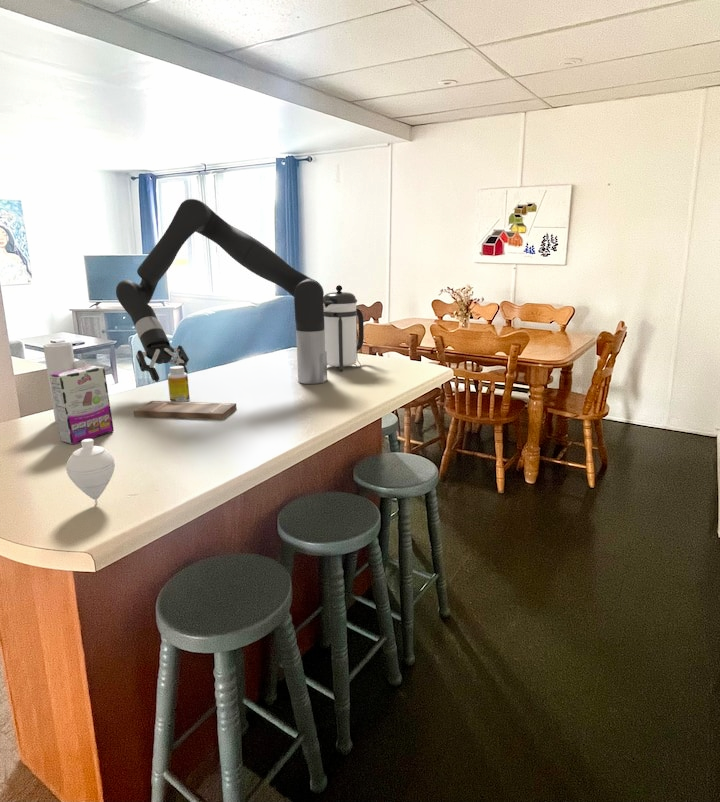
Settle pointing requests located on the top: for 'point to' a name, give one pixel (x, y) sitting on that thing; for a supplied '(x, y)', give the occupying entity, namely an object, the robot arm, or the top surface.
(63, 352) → the vase
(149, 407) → the walnut board
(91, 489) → the spinning top
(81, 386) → the candy bar box
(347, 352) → the coffee press
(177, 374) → the supplement bottle
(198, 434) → the top surface
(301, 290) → the robot arm
